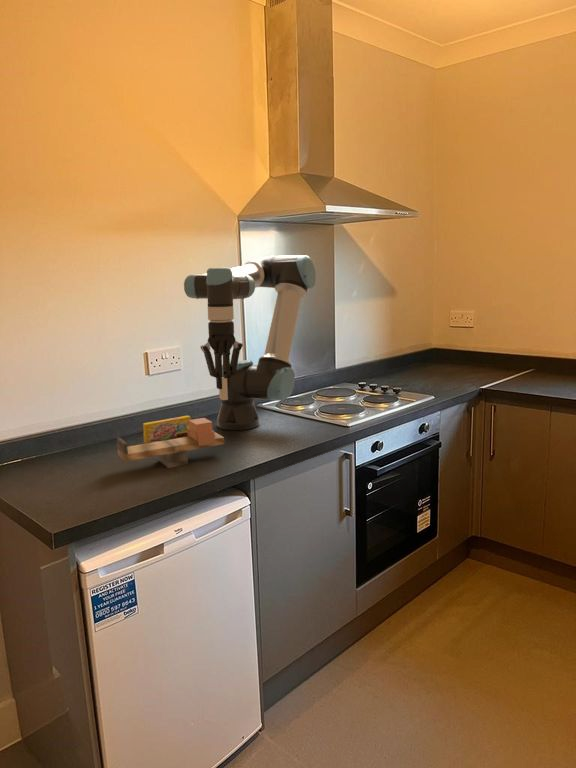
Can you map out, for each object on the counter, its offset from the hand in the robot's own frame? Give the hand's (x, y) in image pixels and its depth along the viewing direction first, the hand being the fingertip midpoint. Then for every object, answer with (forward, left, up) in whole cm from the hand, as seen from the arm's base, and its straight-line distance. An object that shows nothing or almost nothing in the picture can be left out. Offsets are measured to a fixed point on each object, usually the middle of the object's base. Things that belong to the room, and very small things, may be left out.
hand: (223, 399), depth 179 cm
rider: (+8, 0, -12) cm, 14 cm away
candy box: (+12, -19, -17) cm, 28 cm away
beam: (+17, 0, -17) cm, 24 cm away
